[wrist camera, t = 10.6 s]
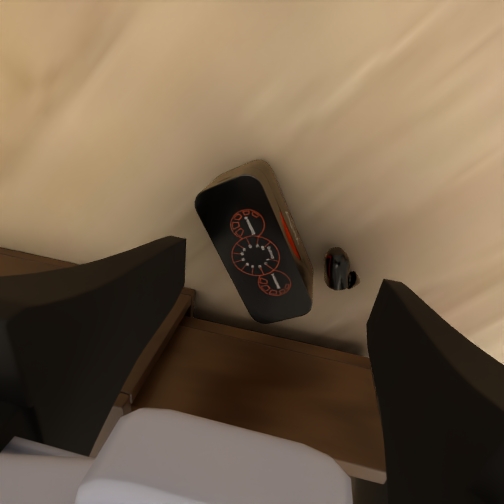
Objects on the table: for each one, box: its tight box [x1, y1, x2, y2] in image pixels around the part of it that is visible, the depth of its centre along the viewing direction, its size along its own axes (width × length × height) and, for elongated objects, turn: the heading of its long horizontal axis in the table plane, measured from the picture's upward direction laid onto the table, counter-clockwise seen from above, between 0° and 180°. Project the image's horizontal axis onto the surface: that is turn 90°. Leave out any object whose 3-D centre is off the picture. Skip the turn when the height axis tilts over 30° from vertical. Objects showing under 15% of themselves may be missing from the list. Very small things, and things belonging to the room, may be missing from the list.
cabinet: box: [0, 248, 195, 458], centre depth 19 cm, size 15×14×8 cm
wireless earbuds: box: [195, 160, 360, 324], centre depth 14 cm, size 5×7×3 cm, turn 24°
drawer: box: [131, 316, 388, 504], centre depth 17 cm, size 20×13×6 cm, turn 83°
